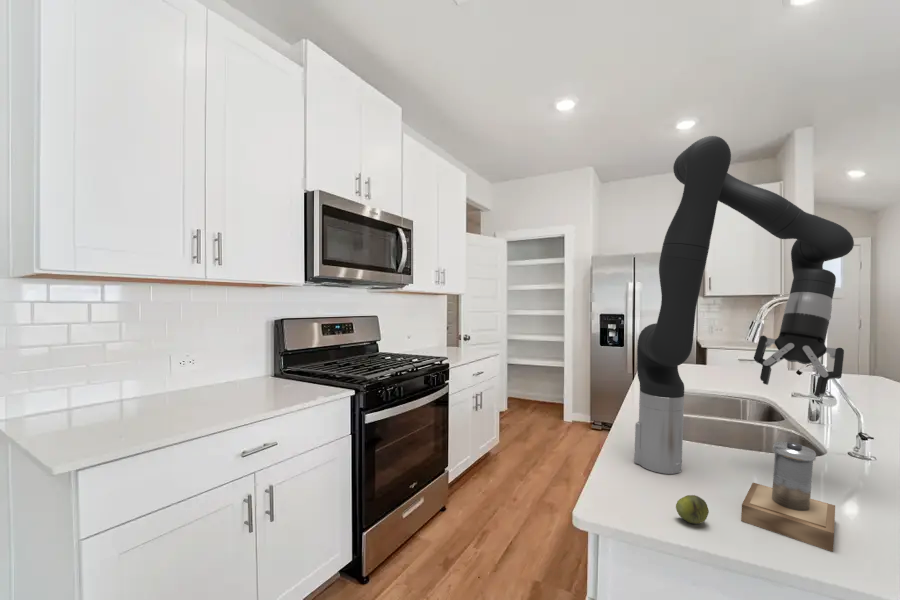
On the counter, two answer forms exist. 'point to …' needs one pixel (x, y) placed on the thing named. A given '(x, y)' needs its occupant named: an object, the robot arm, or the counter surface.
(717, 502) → the counter surface
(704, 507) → the lime
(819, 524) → the stand
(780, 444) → the grey lidded canister
